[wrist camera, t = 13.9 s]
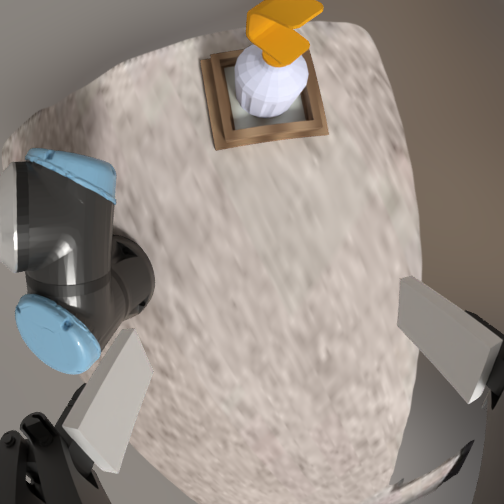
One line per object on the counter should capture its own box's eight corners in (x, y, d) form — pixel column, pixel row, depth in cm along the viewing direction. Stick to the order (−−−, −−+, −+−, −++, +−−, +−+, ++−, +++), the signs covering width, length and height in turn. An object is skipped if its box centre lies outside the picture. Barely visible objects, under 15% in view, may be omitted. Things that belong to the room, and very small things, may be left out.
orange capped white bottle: (267, 130, 39) (304, 72, 15) (223, 93, 37) (207, 5, 13) (305, 93, 37) (372, 18, 14) (262, 58, 35) (285, -42, 12)
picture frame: (216, 150, 41) (213, 147, 37) (200, 62, 36) (197, 53, 32) (327, 135, 41) (335, 131, 37) (307, 50, 36) (313, 40, 32)
